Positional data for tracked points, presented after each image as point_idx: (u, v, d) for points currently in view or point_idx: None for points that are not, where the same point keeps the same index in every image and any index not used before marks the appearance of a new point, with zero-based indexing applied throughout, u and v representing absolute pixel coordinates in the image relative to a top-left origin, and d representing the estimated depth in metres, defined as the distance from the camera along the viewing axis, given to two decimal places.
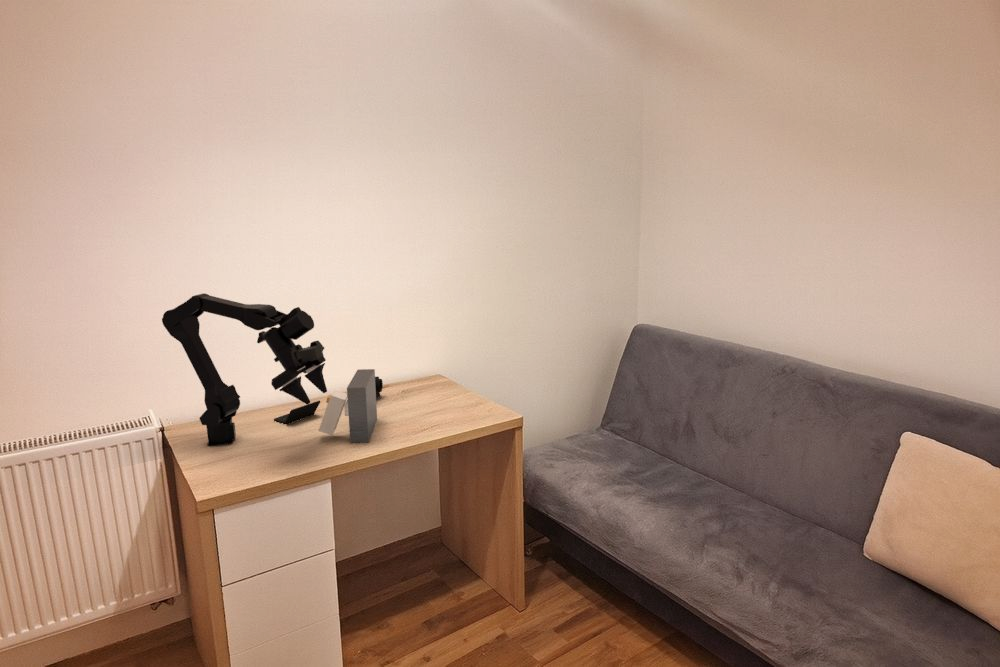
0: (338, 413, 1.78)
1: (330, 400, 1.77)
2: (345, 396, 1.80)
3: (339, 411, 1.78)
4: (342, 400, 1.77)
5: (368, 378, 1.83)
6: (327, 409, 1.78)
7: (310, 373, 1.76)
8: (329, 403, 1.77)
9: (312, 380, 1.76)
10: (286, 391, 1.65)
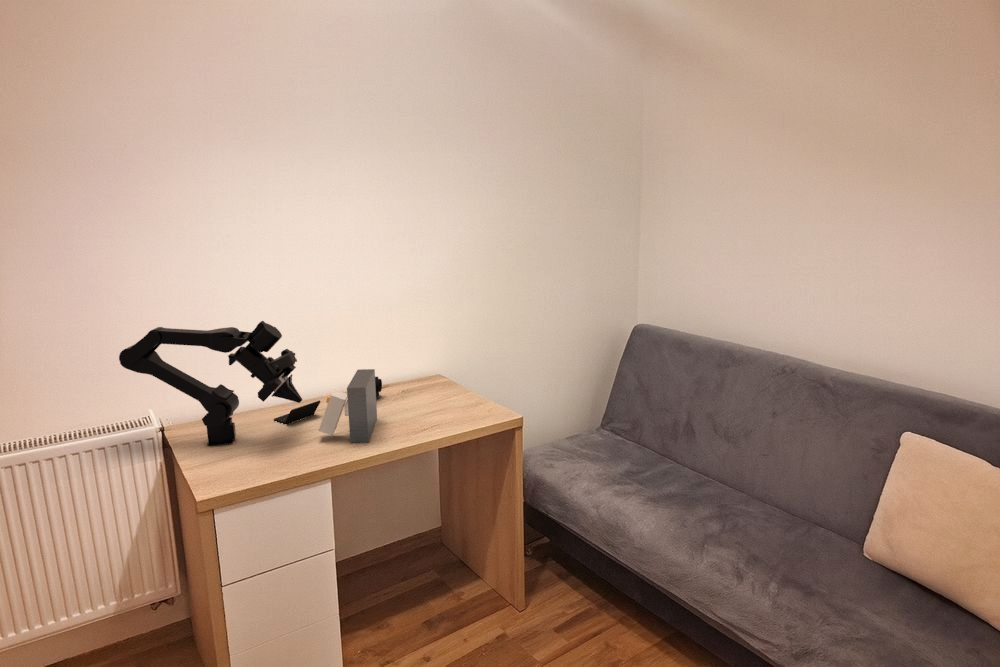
0: (338, 413, 1.78)
1: (330, 400, 1.77)
2: (345, 396, 1.80)
3: (339, 411, 1.78)
4: (342, 400, 1.77)
5: (368, 378, 1.83)
6: (327, 409, 1.78)
7: None
8: (329, 403, 1.77)
9: None
10: (277, 395, 1.76)
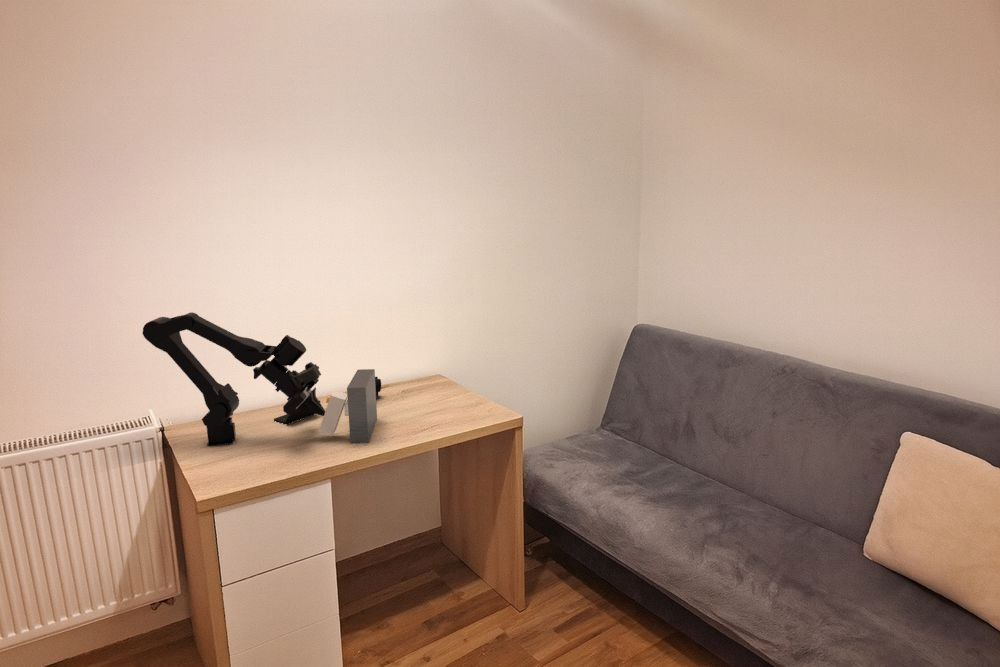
0: (338, 413, 1.78)
1: (330, 400, 1.77)
2: (345, 396, 1.80)
3: (339, 411, 1.78)
4: (342, 400, 1.77)
5: (368, 378, 1.83)
6: (327, 409, 1.78)
7: None
8: (329, 403, 1.77)
9: None
10: (302, 409, 1.78)
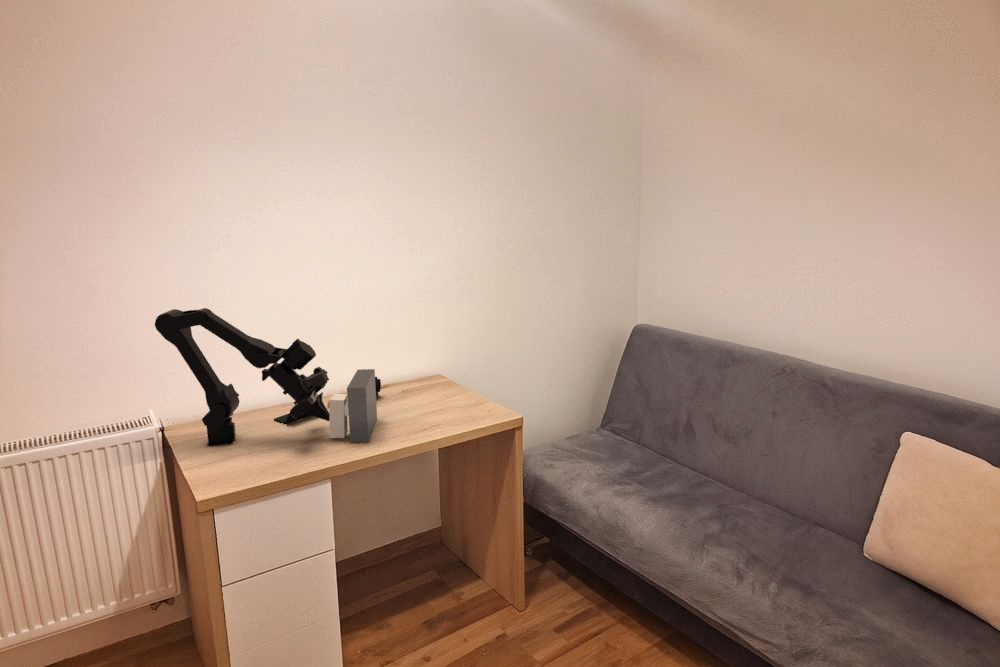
0: (342, 415, 1.78)
1: (330, 405, 1.77)
2: (344, 397, 1.80)
3: (342, 412, 1.78)
4: (341, 401, 1.77)
5: (368, 378, 1.83)
6: (331, 414, 1.78)
7: None
8: (330, 408, 1.78)
9: None
10: (308, 413, 1.78)
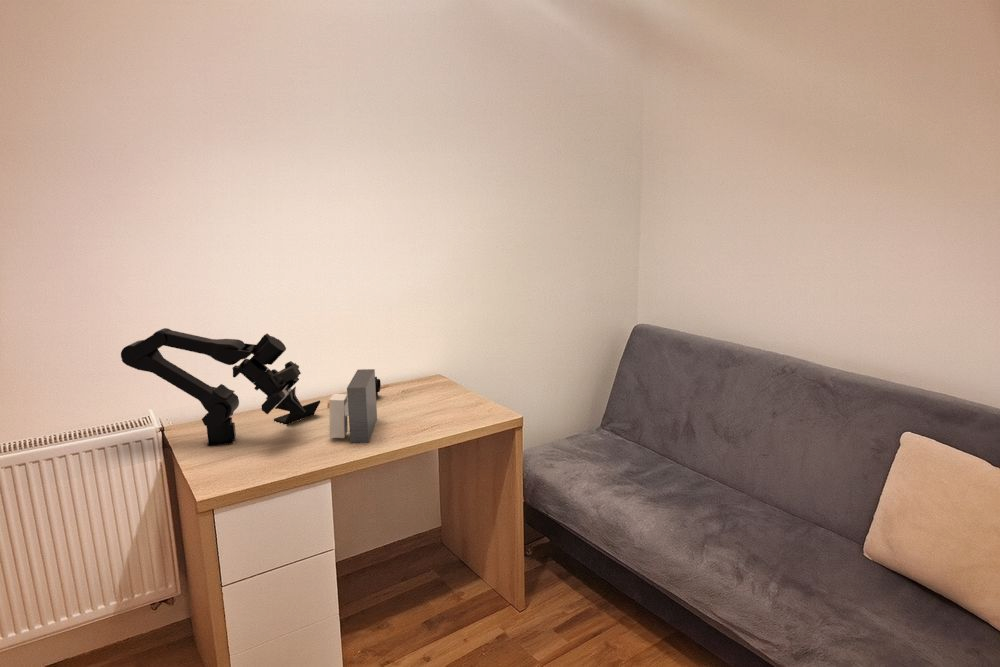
0: (342, 415, 1.78)
1: (330, 405, 1.77)
2: (344, 397, 1.80)
3: (342, 412, 1.78)
4: (341, 401, 1.77)
5: (368, 378, 1.83)
6: (331, 414, 1.78)
7: None
8: (330, 408, 1.78)
9: None
10: (281, 408, 1.77)
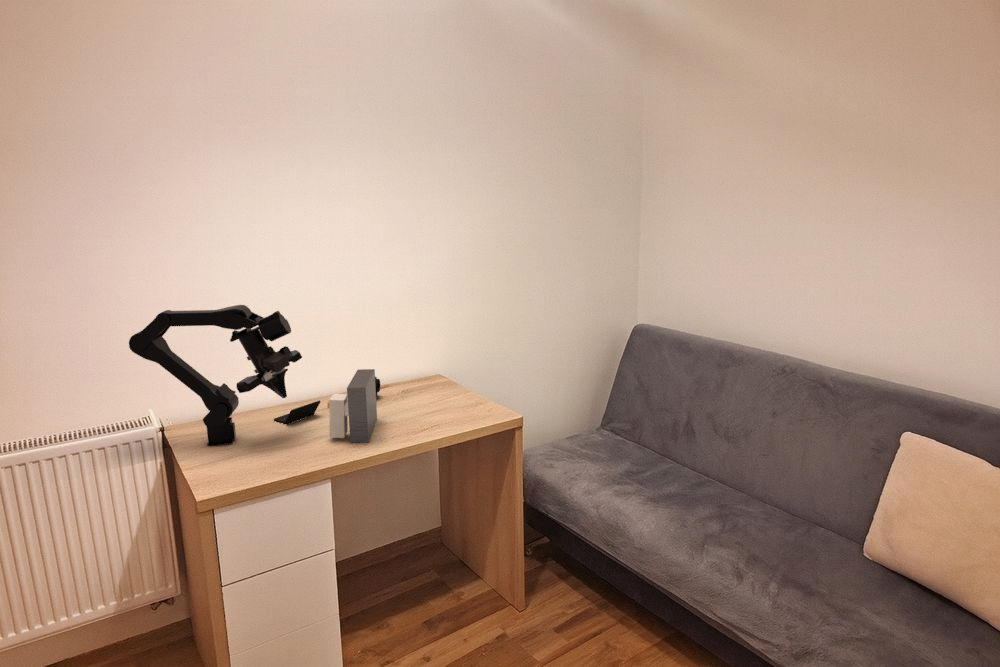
0: (342, 415, 1.78)
1: (330, 405, 1.77)
2: (344, 397, 1.80)
3: (342, 412, 1.78)
4: (341, 401, 1.77)
5: (368, 378, 1.83)
6: (331, 414, 1.78)
7: (273, 376, 1.80)
8: (330, 408, 1.78)
9: None
10: (264, 384, 1.79)
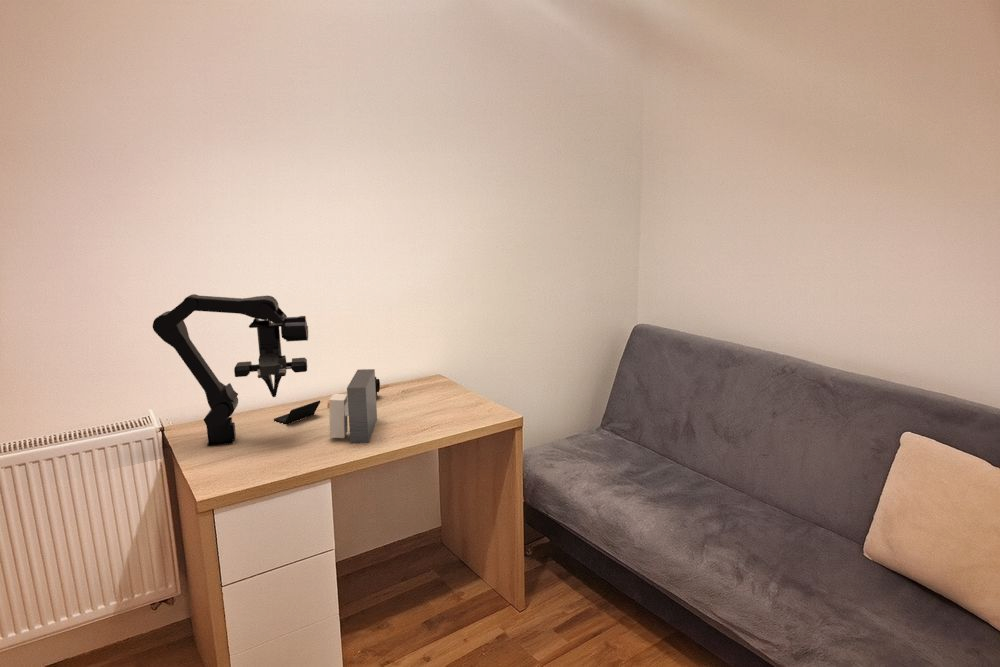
0: (342, 415, 1.78)
1: (330, 405, 1.77)
2: (344, 397, 1.80)
3: (342, 412, 1.78)
4: (341, 401, 1.77)
5: (368, 378, 1.83)
6: (331, 414, 1.78)
7: None
8: (330, 408, 1.78)
9: None
10: None
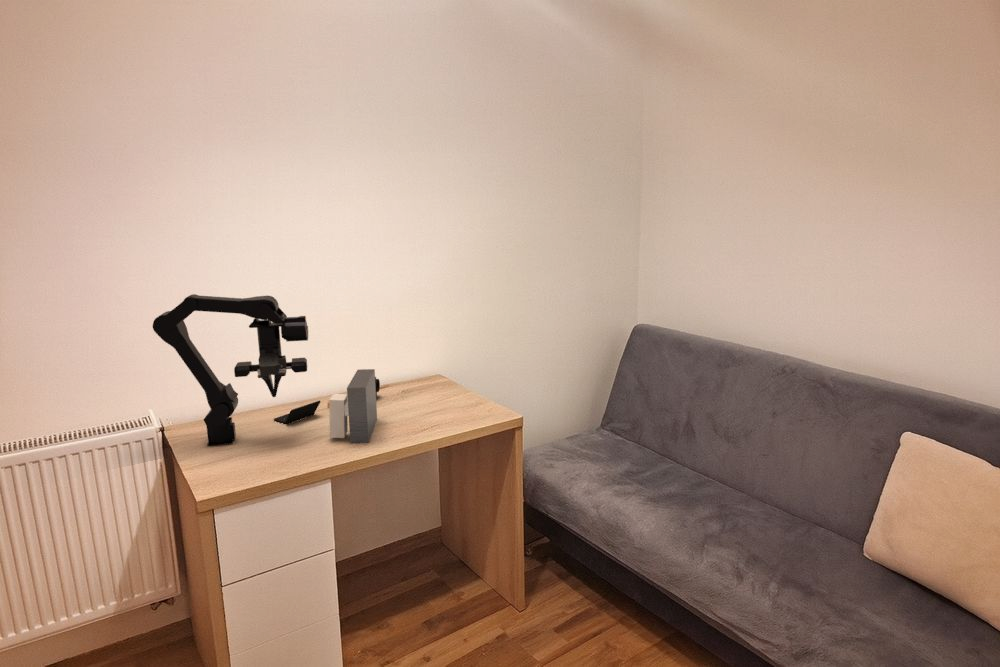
0: (342, 415, 1.78)
1: (330, 405, 1.77)
2: (344, 397, 1.80)
3: (342, 412, 1.78)
4: (341, 401, 1.77)
5: (368, 378, 1.83)
6: (331, 414, 1.78)
7: None
8: (330, 408, 1.78)
9: None
10: None
